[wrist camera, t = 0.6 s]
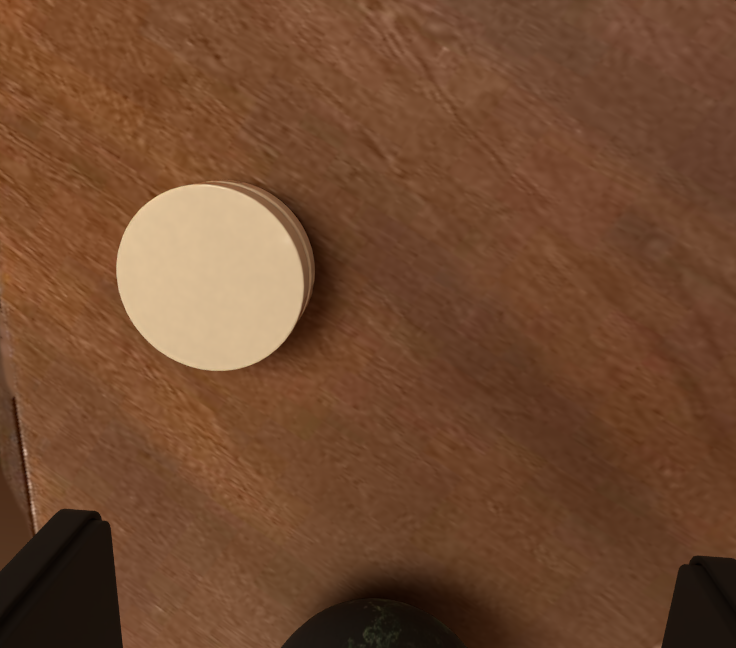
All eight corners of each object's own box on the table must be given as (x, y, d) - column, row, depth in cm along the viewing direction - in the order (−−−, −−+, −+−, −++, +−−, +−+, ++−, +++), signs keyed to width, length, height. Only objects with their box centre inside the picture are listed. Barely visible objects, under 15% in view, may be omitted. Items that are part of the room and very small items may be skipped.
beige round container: (182, 149, 23) (149, 149, 20) (343, 224, 24) (334, 235, 21) (129, 304, 25) (92, 325, 22) (279, 371, 25) (262, 399, 23)
